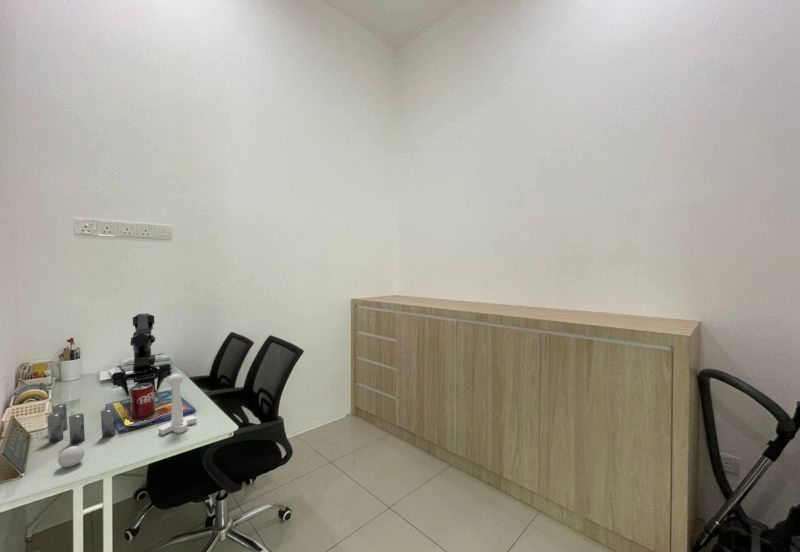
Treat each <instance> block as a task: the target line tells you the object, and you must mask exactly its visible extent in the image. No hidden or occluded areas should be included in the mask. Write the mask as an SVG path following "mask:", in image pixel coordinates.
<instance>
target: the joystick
mask: <svg viewBox="0 0 800 552" xmlns="http://www.w3.org/2000/svg"><path fill="white" fill-rule="evenodd" d="M183 381H184V378H183V375H181V374H180V373H173V374H171V375H170V376H169V377H168V381H167V384H168V385H169V386H171V415H170V416H171V420H170V422H167V423H164V424H162V425H160V426H158V435H161V436H164V435H166V434H168V433H170V432H174V433H176V434H182V433H184V432H186V431H187V430H188V429H189V425H193V424H197V423H198V422H197V417H196V416H195V415H188V416H185V417H184V413H183V402H182V396H181V395H182V394H181V384H182V383H183Z"/></svg>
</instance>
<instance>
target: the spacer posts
mask: <svg viewBox="0 0 800 552" xmlns="http://www.w3.org/2000/svg"><path fill="white" fill-rule="evenodd" d="M51 410H52V413H51V414H49V415H47V416H46V419H47V420H46V421H47V438H48V443H49V444H54V443H58V442H61V441H63V440H64V431H66V430H69V442H70V443H69V444H70V445H72V446H76V445H78V444H81V443H84V441H86V438H85V437H86V436H85V435H86V434H85V418H84V416H85V415H84V413H81V412H80V413H76V414H73V415H70V416H69V417H68V412H67V411H68V410H67V403H60V404H57V405H53V406H52V409H51ZM115 411H116V410H115V408H111V407H109V408H107V409H103V410H101V411H100V419H101V421H100V422H101V437H102V439H109V438H113V437H114V436H115V435H116V434H117V432H116V415H115ZM68 426H69V427H68ZM68 428H69V429H68Z"/></svg>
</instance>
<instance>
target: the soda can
mask: <svg viewBox="0 0 800 552" xmlns="http://www.w3.org/2000/svg"><path fill="white" fill-rule="evenodd" d="M129 398H130V414H131V415H130V416H131V418H132V419H133V420H143V419H147V418H149V417H151V416H153V415H154V414H155V410H156V404H155V403H156V402H155V392H154V385H153V384H152V383H143V384H139V385H136V386H135V385H134V386H132V387H131V388H130V389H129Z"/></svg>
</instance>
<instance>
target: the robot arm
mask: <svg viewBox="0 0 800 552" xmlns="http://www.w3.org/2000/svg"><path fill="white" fill-rule="evenodd" d="M154 325H155V315H152V314H150V313H138V314H136V315H135V316H133V317H132V326H133V327H135V331H134V332H133V335H132V336H131V337H130V346H132V348H133V352H134V353H133V364H132V365H133V366H132V373H126V371H124V370H123V371H117V372H116V371H115V372H114V373H112V374H111V380H112V385H113V386H117V387H121V388H122V389H123V391H124V392H125V396H126V397H127V398H128V397H129V398H130V390H129V386H128V383H127V382H128V381H127V380H129V379H133V383H134V386H136V385H139V384H143V383H152V384H153V385H154V393H157V392H159V390H160V387H161V385H162V383H163V382H164V380H165V379H166V378H168V376H169V377H170V376H172V373H171V371H172V370H171V367H172V366H171V364H170V363H167V364H161V365H158V367H157V365H155V363H156V354H152V347H151V346H152V344H154V342H156V337H155V335H154V334H152V331H153V329H154ZM156 379H157V381H156ZM155 382H156V383H155ZM155 385H156V386H155Z"/></svg>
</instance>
